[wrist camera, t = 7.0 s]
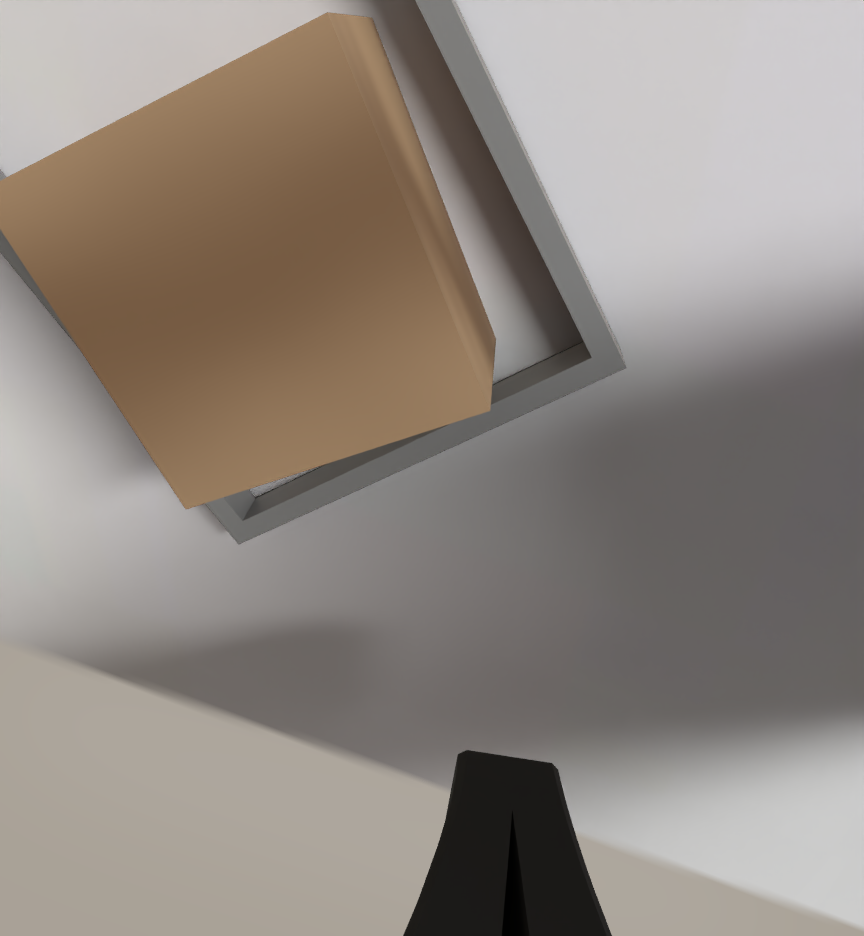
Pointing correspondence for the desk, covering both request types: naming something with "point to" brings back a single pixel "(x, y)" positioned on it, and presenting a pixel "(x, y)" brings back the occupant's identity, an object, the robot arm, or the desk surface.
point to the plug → (261, 265)
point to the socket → (508, 395)
